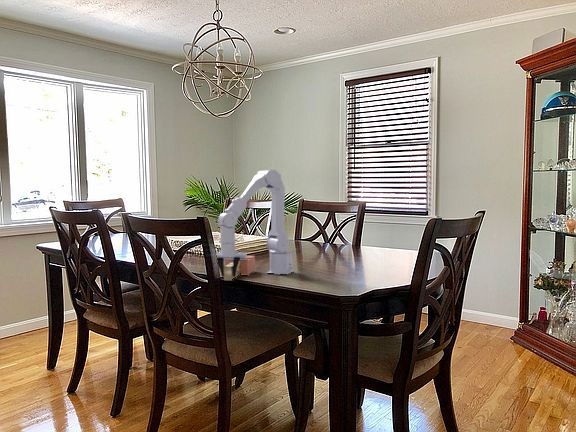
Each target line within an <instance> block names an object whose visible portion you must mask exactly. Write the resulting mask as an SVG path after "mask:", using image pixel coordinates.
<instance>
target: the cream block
mask: <svg viewBox="0 0 576 432" xmlns="http://www.w3.org/2000/svg"><path fill="white" fill-rule="evenodd" d="M223 270H224V277H223V280H224V281H233V280H234V279H233V278H234V276H233V272H234V266H233V262H231V263H230V264H228V265H226V266H225V265H224V267H223ZM240 273H241V263H240V261H239V263H238V266H237V269H236V276H237V275H239V274H240ZM236 276H235V277H236ZM239 276H240V275H239ZM236 278H237V277H236ZM232 279H233V280H232Z"/></svg>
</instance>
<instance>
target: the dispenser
mask: <svg viewBox="0 0 576 432" xmlns="http://www.w3.org/2000/svg"><path fill="white" fill-rule="evenodd" d="M233 259H234V258H229V259H225V265H224V266H226V265H228V264H230V263H231V262H233ZM239 261H240V263H241V274H249V273H251V272H252V271H254V270H255V271H256V255H247V258H240V260H239Z"/></svg>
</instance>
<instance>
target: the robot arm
mask: <svg viewBox="0 0 576 432" xmlns="http://www.w3.org/2000/svg"><path fill="white" fill-rule="evenodd" d="M261 188H266V189H267V190H268V191H269V192H270V193H271V214H270V215H271V219H270V220H271V221H270V223H271V227H270V228H271V229H270V230H269V232H268V237H267V239H266V242H265V243H266V248H268V251H269V271H267V272H266V274H267V273H274V274H273V275H280V274H287V275H289V274H292V273H293V272H294V257H293V254H292V253H291V252H288V250H289V248H290V241H289V238H288V237H289V235H288V233H287V232H286V230H285V200H286V199H285V193H286V190H285V185H284V184H283V180H282V174H281V173H280V172H278V170H275V169H266V170H265V169H261V170H259V171H257V173H256V174H255V175H254V176H253V178H252V180H251V181H250V183H249V184H248V185H247V187H246V188H245V189H244V191H243V193H242V194H241V195H240V197H235V198H233V199H232V200H231V203H230V204H229V206H228V207H227V208H225V209H224V212H222V213H220V214H219V216H218V219H217V220H216V221H217V224H218V225H219V229H220V230H219V231H220V232H219V233H220V252H218V253H216V255H217V259H216V260H218V263H217V265H218V267H219V269H220V270H219V271H220V273H221V277H222V278H224V270H223V267H224V266H225V265H224V259H227V258H234V259H233V266H234V272H233V276H234V277H235V276H236V269H237V266H238V263H239V260H240V258H247V256H248V255H247V254H248V253H247V252H237V253H235V250H236V234H235V233H236V232H235V226H236V225H237V224H238V219H239V218H240V216H241V215H242V214H243V212H244V211H245V210H246V208H247V207H248V204H247V203H248V201H250V199H251V198H253V196H254V195H255V194H256V192H258V190H259V189H261ZM291 272H292V273H291Z"/></svg>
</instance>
